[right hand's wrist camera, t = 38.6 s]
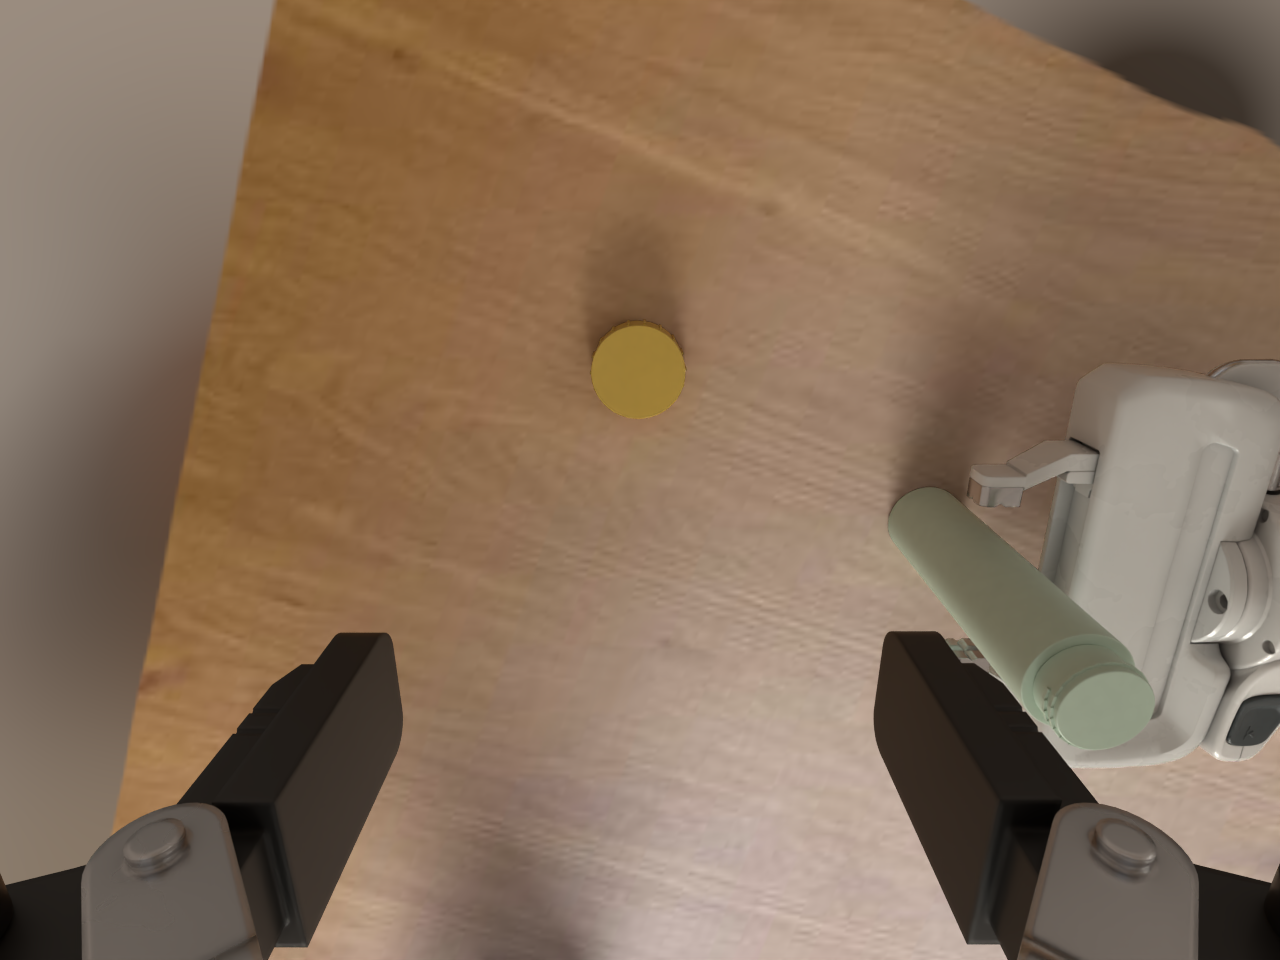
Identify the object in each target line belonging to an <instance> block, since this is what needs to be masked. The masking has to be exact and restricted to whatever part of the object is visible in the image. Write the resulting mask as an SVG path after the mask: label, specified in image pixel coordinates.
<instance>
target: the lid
mask: <svg viewBox="0 0 1280 960" xmlns="http://www.w3.org/2000/svg"><path fill="white" fill-rule="evenodd" d="M682 355H683V351H682V348H680V347H679V345H678V343H677V342H676V340H675V337H674V335H673V334H672V335H671V334H670V333H669V332H668V331H666V330H665V329H664V328H662V326H661V325H660V324H659V325H657V324H654V323H651V322H647V321H646V320H645V319H644V321H629V320H627V322H626V323H622V324H620V325H618V326H616V327H614V326H613V327H612V329H611V330H610V331H609V332H608V333H607V334H606V335H605V336H604V337H603V338H602V337H601V338H600V341H599V345H598V347H597V349H596V352H593V355H592V358H593V361H592V366H591V371H590V374H591V378H592V383H593V387H594V390H595V392H596V394H597V395H598V397H599V399H600V400H601V401H602V402H603V404H604V405H605V406H606V407H608V408H609V409H610V410H612V411H613V412H615V413H617V414H618V415H621V416H624V417H627V418H633V419H643V418H649V417H653V416H656V415H658V414H660V413H662V412H664V411H665V410H666V409H668V408H669V407H670V406H671V405H672V404H673V403H674V402H675V401H676V399H677V398H678V396H679V395H680V393H681V391H682V388H683V387H684V381H685V371H686V366H685V363H684V359H683V356H682Z"/></svg>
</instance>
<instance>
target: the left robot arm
mask: <svg viewBox="0 0 1280 960" xmlns="http://www.w3.org/2000/svg"><path fill="white" fill-rule="evenodd" d="M1055 476H1056V477H1057V481H1056V486H1055V490H1054V495H1053V500H1052V505H1051V510H1050V514H1049V519H1048V524H1047V529H1046V534H1045V539H1044V543H1043V548H1042V553H1041V558H1040V563H1039V568H1038V570H1039V571H1040V572H1041V573H1042V574H1043V575H1044V576H1045V577H1047V578H1048V579H1049V580H1050V581H1051V582H1052V583H1053V584H1055V585H1056V586H1057V587H1058V588H1059V589H1060V590H1061V591H1063V592H1064V593H1065V594H1066V595H1067V596H1068V597H1069V598H1071V599H1072V600H1073V601H1074V602H1075V603H1076V604H1077V605H1079V606H1080V607H1081V608H1082V609H1083V610H1084V611H1085V612H1087V613H1088V614H1089V615H1090V616H1091V617H1092V618H1093V619H1095V620H1096V621H1097V622H1098V623H1099V624H1100V625H1101V626H1103V627H1104V628H1105V629H1106V630H1107V631H1108V632H1110V633H1111V634H1112V635H1113V636H1114V637H1115V638H1116V639H1118V640H1119V641H1120V642H1121V643H1122V644H1123V645H1124V646H1125V647H1126V648H1127V649H1128V650H1129V651H1130V653H1131V655H1132V657H1133V660H1134V663H1135V667H1136V668H1137V669H1138V670H1140V671H1141V672H1142V673H1143V674H1144V676H1145V677H1146V679H1147V680H1148V682H1149V685H1150V686H1151V688H1152V690H1153V693H1154V697H1155V707H1154V711H1153V714H1152V717H1151V718H1150V720H1149V722H1148V723H1147V725H1146V726H1145V727H1144V728H1143V730H1142V731H1141V732H1139V733H1138V734H1137V735H1136V736H1135V737H1133V738H1132V739H1130V740H1129V741H1127V742H1125V743H1123V744H1121V745H1118V746H1115V747H1112V748H1109V749H1102V750H1088V749H1080V748H1077V747H1074V746H1071V745H1069V744H1067V743H1066V742H1064V741H1063V740H1062V739H1060V738H1059V737H1058V736H1057V734H1056V733H1055V732H1054V730H1053V729H1052V728H1051V727H1050V726H1049V725H1046V724H1044V723H1042V722H1040V721H1038V720H1036V719H1035V718H1034V717H1033V716H1031V715H1030V714H1029V712H1028V711H1027V710H1026V709H1025V708H1024V706H1023V705H1022V704H1021V703H1020V701H1019V700H1018V699H1017V697H1016V696H1015V695H1014V694H1013V692H1012V691H1011V690H1010V689H1009V687H1008V686H1007V685H1006V684H1005V682H1004V681H1003V680H1002V679H1001V677H1000V676H999V675H998V673H997V672H996V671H995V670H994V668H993V667H992V666H991V665H990V663H989V662H988V661H987V660H986V658H985V657H984V656H983V655H982V653H981V652H980V651H979V649H978V648H977V647H976V646H975V644H974V643H973V642H972V641H971V639H970V638H962V639H960V640H958V641H956V640H955V639H953V638H952V639H945V641H946V642H947V644H948V645H949V646H950V648H951V649H952V650H953V652H954V653H955V654H956V656H957V657H958V659H959V660H960V661H961V663H975V664H976V665H978V666H979V667H981V668H982V669H984V670H985V671H986V672H988V673H989V674H991V675H992V676H994V677H995V678H996V679H998V680H999V681H1001V682H1002V683H1004V685H1005V686H1006V687H1007V689H1008V690H1009V691H1010V692H1011V694H1012V695H1013V696H1014V697H1015V699H1016V700H1017V701H1018V702H1019V704H1020V705H1021V706H1022V711H1023V712H1026V713H1027V714H1028V715H1029V716H1030V718H1031V719H1032V720H1033V721H1034V723H1035V724H1036V725H1037V726H1038V731H1039V732H1042V733H1043V734H1044V735H1045V736H1046V738H1047V739H1048V740H1049V742H1050V743H1051V744H1052V745H1053V747H1054V748H1055V749H1056V750H1057V752H1058V753H1059V754H1060V755H1061V757H1062V758H1063V759H1064V760H1065V762H1066V763H1067V764H1068V766H1069V767H1070V768H1121V767H1138V766H1150V765H1158V764H1164V763H1169V762H1172V761H1175V760H1178V759H1181V758H1183V757H1185V756H1187V755H1188V754H1190V753H1191V752H1193V751H1194V750H1195V749H1196V748H1197V747H1198V746H1200V747H1201V748H1202V749H1204V750H1205V751H1206V752H1207V753H1209V754H1210V755H1211V756H1213V757H1214V758H1216V759H1218V760H1221V761H1231V762H1234V761H1235V762H1236V761H1244V760H1248V759H1250V758H1252V757H1254V756H1255V755H1256V754H1257V753H1259V752H1260V750H1261V749H1262V748H1263V747H1264V746H1265V744H1266V743H1267V742H1268V741H1269V739H1270V738H1271V737H1272V735H1273V734H1274V733H1275V732H1276V730H1277V729H1278V728H1279V727H1280V361H1278V360H1273V359H1240V360H1235V361H1231V362H1227V363H1224V364H1221V365H1219V366H1217V367H1215V368H1214V369H1212V370H1211V371H1210V372H1208V373H1207V374H1201V373H1197V372H1192V371H1187V370H1181V369H1175V368H1168V367H1161V366H1152V365H1141V364H1124V363H1105V364H1102V365H1100V366H1099V367H1097V368H1095V369H1094V370H1092V371H1091V372H1089V373H1088V374H1086V375H1085V376H1083V377H1082V378H1081V379H1080V380H1079V381H1078V383H1077V385H1076V389H1075V393H1074V398H1073V403H1072V408H1071V413H1070V418H1069V423H1068V428H1067V432H1066V437H1065V440H1045V441H1043V442H1041V443H1040V444H1038V445H1036V446H1034V447H1032V448H1031V449H1029V450H1027V451H1025V452H1023V453H1021V454H1020V455H1018V456H1016V457H1014V458H1012V459H1011V460H1009V461H1007V464H976V465H972V467H971V472H970V478H969V485H968V491H967V496H968V497H969V498H973V500H974V502H975V503H976V504H978V505H980V506H985V507H996V506H998V505H1000V504H1001V505H1003V506H1004V507H1020V502H1021V498H1022V493H1023V490H1026V489H1029V488H1031V487H1033V486H1035V485H1037V484H1040V483H1042V482H1044V481H1046V480H1049V479H1051V478H1053V477H1055Z"/></svg>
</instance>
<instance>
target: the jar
mask: <svg viewBox="0 0 1280 960" xmlns="http://www.w3.org/2000/svg"><path fill="white" fill-rule="evenodd" d="M888 531H889V535H890V537H891V539H892V541H893V542H894V543H895V545H896V546H897V547H898V548H899V550H900V551H901V552H902V553H903V555H904V556H905V557H906V559H907V560H908V561H909V562H910V564H911V565H912V566H913V567H914V569H915V570H916V571H917V572H918V574H919V575H920V576H921V577H922V579H923V580H924V581H925V583H926V584H927V585H928V586H929V588H930V589H931V590H932V591H933V593H934V594H935V595H936V596H937V598H938V599H939V600H940V601H941V603H942V604H943V605H944V607H945V608H946V609H947V610H948V612H949V613H950V614H951V615H952V617H953V618H954V619H955V620H956V622H957V623H958V624H959V625H960V627H961V628H962V629H963V631H964V632H965V633H966V634H967V636H968V637H969V638H970V639H971V641H972V642H973V643H974V644H975V646H976V647H977V648H978V649H979V651H980V652H981V653H982V655H983V656H984V657H985V658H986V660H987V661H988V662H989V663H990V665H991V666H992V667H993V668H994V670H995V671H996V672H997V673H998V675H999V676H1000V677H1001V679H1002V680H1003V681H1004V682H1005V684H1006V685H1007V686H1008V687H1009V689H1010V690H1011V691H1012V692H1013V694H1014V695H1015V696H1016V697H1017V699H1018V700H1019V701H1020V703H1021V704H1022V705H1023V706H1024V708H1025V709H1026V710H1027V711H1028V712H1029V714H1030V715H1031V716H1033V717H1034V718H1035V719H1036V720H1038V721H1040V722H1042V723H1044V724H1046V725H1049V726H1050V727H1051V728H1052V729H1053V730H1054V732H1055V733H1056V734H1057V736H1058V737H1059V738H1060V739H1062V740H1063V741H1064V742H1066V743H1067V744H1069V745H1071V746H1074V747H1077V748H1080V749H1088V750H1102V749H1109V748H1112V747H1115V746H1118V745H1121V744H1123V743H1125V742H1127V741H1129V740H1130V739H1132V738H1133V737H1135V736H1136V735H1137V734H1138V733H1139V732H1141V731H1142V730H1143V728H1144V727H1145V726H1146V725H1147V723H1148V722H1149V720H1150V718H1151V717H1152V714H1153V711H1154V707H1155V697H1154V693H1153V690H1152V688H1151V686H1150V685H1149V682H1148V680H1147V679H1146V677H1145V676H1144V674H1143V673H1142V672H1141V671H1140V670H1138V669H1137V668H1136V667H1135V663H1134V660H1133V657H1132V655H1131V653H1130V651H1129V650H1128V649H1127V648H1126V647H1125V646H1124V645H1123V644H1122V643H1121V642H1120V641H1119V640H1118V639H1116V638H1115V637H1114V636H1113V635H1112V634H1111V633H1110V632H1108V631H1107V630H1106V629H1105V628H1104V627H1103V626H1101V625H1100V624H1099V623H1098V622H1097V621H1096V620H1095V619H1093V618H1092V617H1091V616H1090V615H1089V614H1088V613H1087V612H1085V611H1084V610H1083V609H1082V608H1081V607H1080V606H1079V605H1077V604H1076V603H1075V602H1074V601H1073V600H1072V599H1071V598H1069V597H1068V596H1067V595H1066V594H1065V593H1064V592H1063V591H1061V590H1060V589H1059V588H1058V587H1057V586H1056V585H1055V584H1053V583H1052V582H1051V581H1050V580H1049V579H1048V578H1047V577H1045V576H1044V575H1043V574H1042V573H1041V572H1040V571H1039V570H1037V569H1036V568H1035V567H1034V566H1033V565H1032V564H1031V563H1029V562H1028V561H1027V560H1026V559H1025V558H1024V557H1023V556H1021V555H1020V554H1019V553H1018V552H1017V551H1016V550H1015V549H1013V548H1012V547H1011V546H1010V545H1009V544H1008V543H1006V542H1005V541H1004V540H1003V539H1002V538H1001V537H1000V536H998V535H997V534H996V533H995V532H994V531H993V530H992V529H990V528H989V527H988V526H987V525H986V524H985V523H984V522H982V521H981V520H980V519H979V518H978V517H977V516H976V515H974V514H973V513H972V512H971V511H970V510H969V509H968V508H966V507H965V506H964V505H963V504H962V503H961V502H960V501H958V500H957V499H956V498H955V497H954V496H953V495H952V494H950V493H949V492H947V491H945V490H943V489H940V488H935V487H925V488H919V489H916V490H914V491H911V492H909V493H908V494H906V495H905V496H903V497H902V498H901V499H900V500H899V501H898V502H897V503H896V504H895V506H894V507H893V509H892V511H891V513H890V516H889V520H888Z"/></svg>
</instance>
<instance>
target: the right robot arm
mask: <svg viewBox="0 0 1280 960" xmlns="http://www.w3.org/2000/svg"><path fill="white" fill-rule="evenodd" d="M402 726H403V713H402V705H401V697H400V690H399V683H398V676H397V669H396V662H395V655H394V648H393V643H392V639H391V637H390V636H389V634H387V633H338V634H337V635H336V636H335V637H334V638H333V639H332V641H331V642H330V643H329V645H328V646H327V647H326V649H325V650H324V651H323V653H322V654H321V655H320V657H319V658H318V659H317V661H316V662H315V663H314V664H301V665H300V666H299V667H297V668H296V669H294V670H293V671H291V672H290V673H288V674H287V675H286V676H284V677H283V678H281V679H280V680H278V681H277V682H275V683H274V684H273V685H272V686H271V687H270V688H269V689H268V691H267V692H266V693H265V694H264V696H263V697H262V698H261V699H260V701H259V702H258V703H257V704H256V706H255V707H254V708H253V713H249V714H248V716H247V717H246V718H245V719H244V721H243V722H242V723H241V724H240V726H239V727H238V728H237V733H236V734H232V736H231V737H230V738H229V739H228V741H227V742H226V743H225V744H224V746H223V747H222V748H221V749H220V751H219V752H218V753H217V754H216V756H215V757H214V758H213V759H212V761H211V762H210V763H209V764H208V766H207V767H206V768H205V769H204V771H203V772H202V773H201V774H200V776H199V777H198V778H197V779H196V781H195V782H194V783H193V784H192V786H191V787H190V788H189V789H188V791H187V792H186V793H185V794H184V796H183V797H182V798H181V799H180V801H179V802H178V803H177V804H176V805H172V806H168V807H164V808H162V809H159V810H156V811H153V812H151V813H149V814H146V815H144V816H142V817H140V818H138V819H136V820H134V821H133V822H131V823H129V824H127V825H126V826H124V827H123V828H121V829H120V830H118V831H117V832H116V833H115V834H113V835H112V836H111V837H110V838H108V839H107V840H106V841H105V842H104V843H103V844H102V845H101V846H100V847H99V848H98V849H97V850H96V852H95V853H94V854H93V855H92V856H91V858H90V860H89V861H88V863H87V865H84V866H80V867H77V868H73V869H69V870H65V871H61V872H57V873H53V874H49V875H45V876H41V877H37V878H33V879H29V880H25V881H21V882H17V883H13V884H8V885H5V884H4V881H3V879H2V876H1V874H0V960H268V959H269V957H270V955H271V953H272V951H273V949H274V947H308V945H309V943H310V941H311V939H312V936H313V934H314V932H315V930H316V928H317V926H318V923H319V921H320V919H321V917H322V915H323V913H324V910H325V908H326V906H327V904H328V902H329V899H330V897H331V895H332V893H333V891H334V889H335V886H336V884H337V882H338V880H339V878H340V876H341V873H342V871H343V869H344V867H345V865H346V863H347V860H348V858H349V856H350V854H351V852H352V850H353V847H354V845H355V843H356V841H357V839H358V836H359V834H360V832H361V830H362V828H363V826H364V823H365V821H366V819H367V817H368V815H369V813H370V810H371V808H372V806H373V804H374V802H375V800H376V797H377V795H378V793H379V791H380V789H381V786H382V784H383V782H384V780H385V778H386V776H387V773H388V771H389V769H390V767H391V765H392V763H393V760H394V758H395V756H396V754H397V751H398V748H399V745H400V741H401V735H402ZM874 731H875V737H876V742H877V745H878V749H879V751H880V754H881V756H882V758H883V760H884V763H885V765H886V767H887V769H888V771H889V774H890V776H891V778H892V780H893V782H894V785H895V787H896V789H897V791H898V793H899V796H900V798H901V800H902V802H903V804H904V807H905V809H906V811H907V813H908V815H909V818H910V820H911V822H912V824H913V826H914V829H915V831H916V833H917V835H918V837H919V840H920V842H921V844H922V846H923V848H924V851H925V853H926V855H927V857H928V859H929V862H930V864H931V866H932V868H933V870H934V873H935V875H936V877H937V879H938V881H939V884H940V886H941V888H942V890H943V892H944V895H945V897H946V899H947V901H948V903H949V906H950V908H951V910H952V912H953V914H954V917H955V919H956V921H957V923H958V925H959V928H960V930H961V932H962V934H963V936H964V939H965V941H966V943H967V944H1000V945H1001V947H1002V949H1003V951H1004V953H1005V955H1006V957H1007V959H1008V960H1280V864H1279V867H1278V869H1277V872H1276V874H1275V876H1274V879H1273V881H1272V883H1269V882H1265V881H1260V880H1256V879H1252V878H1248V877H1244V876H1240V875H1236V874H1232V873H1228V872H1224V871H1220V870H1216V869H1212V868H1208V867H1204V866H1200V865H1196V864H1193V863H1192V861H1191V860H1190V858H1189V856H1188V855H1187V854H1186V853H1185V852H1184V850H1183V849H1182V848H1181V847H1180V846H1179V845H1178V844H1177V843H1176V842H1175V841H1174V840H1173V839H1172V838H1170V837H1169V836H1168V835H1167V834H1165V833H1164V832H1163V831H1162V830H1160V829H1159V828H1157V827H1156V826H1154V825H1153V824H1151V823H1149V822H1147V821H1146V820H1144V819H1142V818H1140V817H1138V816H1136V815H1134V814H1131V813H1129V812H1127V811H1124V810H1121V809H1118V808H1116V807H1112V806H1108V805H1104V804H1099V803H1098V802H1097V801H1096V800H1095V798H1094V797H1093V796H1092V795H1091V793H1090V792H1089V791H1088V789H1087V788H1086V787H1085V786H1084V784H1083V783H1082V782H1081V781H1080V779H1079V778H1078V777H1077V776H1076V774H1075V773H1074V772H1073V771H1072V769H1071V768H1070V767H1069V766H1068V764H1067V763H1066V762H1065V760H1064V759H1063V758H1062V757H1061V755H1060V754H1059V753H1058V752H1057V750H1056V749H1055V748H1054V747H1053V745H1052V744H1051V743H1050V742H1049V740H1048V739H1047V738H1046V736H1045V735H1044V734H1043V733H1042V732H1039V731H1038V726H1037V725H1036V724H1035V723H1034V721H1033V720H1032V719H1031V718H1030V716H1029V715H1028V714H1027V713H1026V712H1023V711H1022V706H1021V705H1020V704H1019V702H1018V701H1017V700H1016V699H1015V697H1014V696H1013V695H1012V694H1011V692H1010V691H1009V690H1008V689H1007V687H1006V686H1005V685H1004V683H1002V682H1001V681H999V680H998V679H996V678H995V677H994V676H992V675H991V674H989V673H988V672H986V671H985V670H984V669H982V668H981V667H979V666H978V665H976V664H975V663H961V661H960V660H959V659H958V657H957V656H956V654H955V653H954V652H953V650H952V649H951V648H950V646H949V645H948V644H947V642H946V641H945V639H944V638H943V637H942V636H941V634H939V633H938V632H935V631H891V632H888V633H887V635H886V636H885V639H884V643H883V649H882V656H881V663H880V670H879V677H878V685H877V692H876V699H875V706H874Z"/></svg>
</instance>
